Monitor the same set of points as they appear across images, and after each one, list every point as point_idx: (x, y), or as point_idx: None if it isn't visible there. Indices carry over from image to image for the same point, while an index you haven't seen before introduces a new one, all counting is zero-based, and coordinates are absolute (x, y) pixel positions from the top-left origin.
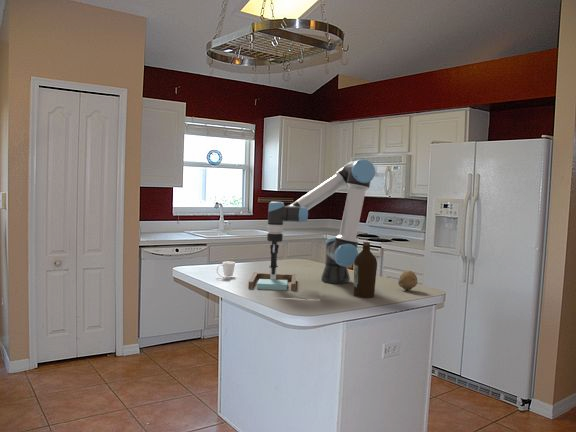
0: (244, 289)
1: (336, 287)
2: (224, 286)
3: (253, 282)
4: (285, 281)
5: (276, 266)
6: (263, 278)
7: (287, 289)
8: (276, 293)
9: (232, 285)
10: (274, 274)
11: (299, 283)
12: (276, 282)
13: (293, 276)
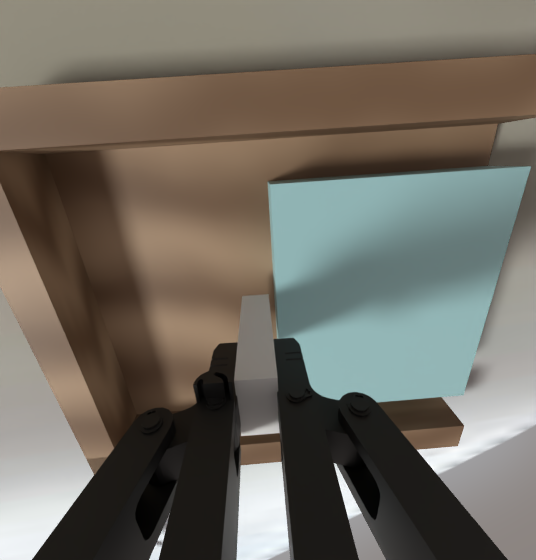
0: None
1: None
2: (345, 494)
3: (407, 417)
4: (353, 199)
5: (232, 391)
6: (120, 388)
7: (462, 160)
8: (528, 237)
9: None
10: (293, 338)
11: (45, 62)
12: (414, 276)
13: (86, 122)
